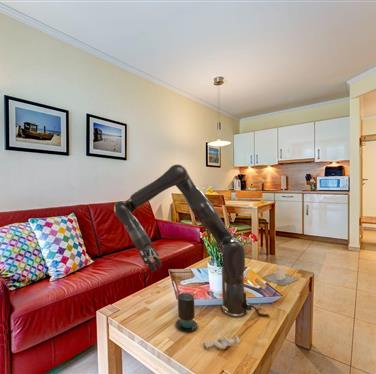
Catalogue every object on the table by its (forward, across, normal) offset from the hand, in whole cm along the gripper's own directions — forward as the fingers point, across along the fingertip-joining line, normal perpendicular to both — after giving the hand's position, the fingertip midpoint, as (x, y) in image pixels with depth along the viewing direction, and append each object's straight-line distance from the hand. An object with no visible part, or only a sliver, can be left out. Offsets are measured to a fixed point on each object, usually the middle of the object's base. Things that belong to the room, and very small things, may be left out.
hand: (157, 269), depth 106 cm
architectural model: (+43, +60, -40) cm, 84 cm away
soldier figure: (+34, -10, -10) cm, 37 cm away
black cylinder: (+22, -2, -2) cm, 22 cm away
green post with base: (+25, -2, +1) cm, 25 cm away
